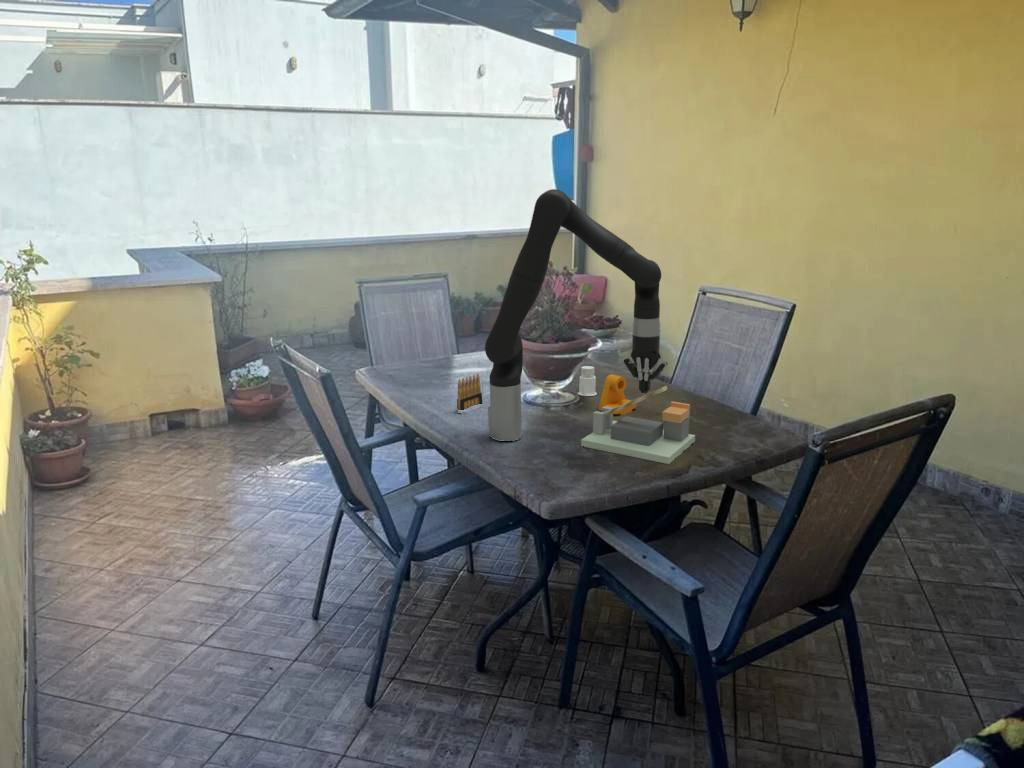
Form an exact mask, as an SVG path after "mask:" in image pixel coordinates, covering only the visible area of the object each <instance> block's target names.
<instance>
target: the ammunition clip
mask: <svg viewBox="0 0 1024 768" xmlns="http://www.w3.org/2000/svg"><path fill="white" fill-rule="evenodd" d="M480 379H481V377H480V375H479V373H476V375H475V374H473V376H471V375H470V376H469V378H468V376H466V377H465V378H464V377H462V380H461V379H460V378H459V379H458V383H457V398H456V410H457V409H458V410H464V409H467V408H469V407H471V406H474V405H478V404H483V393H482V392H481V391H482V390H481V389H482V388H481V387H482V386H481V382H480V381H481V380H480Z"/></svg>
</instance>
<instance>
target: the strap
mask: <svg viewBox="0 0 1024 768" xmlns="http://www.w3.org/2000/svg"><path fill="white" fill-rule="evenodd" d="M666 390H668V386H667V385H665V386H662V387H660V388H657V389H655V390H653V391H651V392H650V391H649V392H647V393H645V394H644V395H641V396H639V397H636V398H634V399H632V400H631V401H629V402H627V403H625V404H622V405H620V406H618V407H615V408H613V409H611V410H608V411H604V413H605V417H606V416H607V415H610V414H612V413H614V412H617V411H619V410H621V409H624V408H626V407H628V406H631V405H633V404H635V403H636V404H638V403H640V402H642V401H644V400H647V399H649V398H652V397H655V396H656V395H658V394H661V393H663V392H665V391H666Z"/></svg>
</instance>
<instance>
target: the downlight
mask: <svg viewBox="0 0 1024 768" xmlns="http://www.w3.org/2000/svg"><path fill="white" fill-rule="evenodd" d="M596 378H597V377H596V376H595V367H594V366H589V365H585V366H584V365H583V366H581V374H580V376H579V381H578V383H579V388H578V389H579V391H577V395H579V396H582V397H593V396H596V395H598V393H597V392H596V387H597V386H596V383H597V381H596V380H597V379H596Z"/></svg>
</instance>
